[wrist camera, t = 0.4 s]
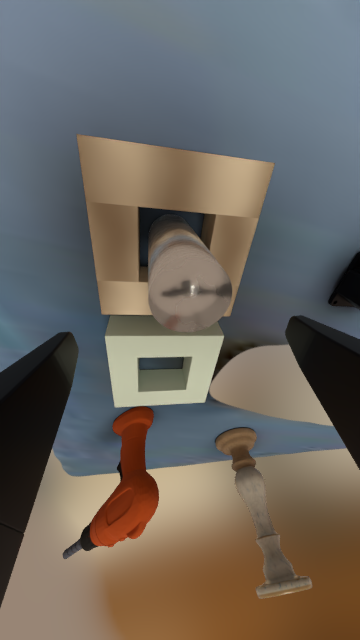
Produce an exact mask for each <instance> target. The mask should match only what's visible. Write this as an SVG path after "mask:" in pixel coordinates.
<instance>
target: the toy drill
mask: <svg viewBox="0 0 360 640" xmlns="http://www.w3.org/2000/svg"><path fill="white" fill-rule="evenodd" d="M153 418H154V414H153V411H152V410H151V409H150V408H148V407H143V406H140V407H135V408H132V409H130V410H128V411H126V412H124V413H123V414H121V415H120V416H119V417H118V418H116V420H115V421H114V423H113V431H114V432H115V433H116V434H118V435H119V436H122V447H121V460H120V462H119V464H118V467H117V470H118V471H119V473H120V477H121V482H120V484H119V485H118V486H117V488H116V489H115V491H114V492H113V493H112V494H111V496H110V497H109V498H108V500H107V501H106V502H105V503H104V504H103V506H102V507H101V508H100V509H99V511H98V512H97V514H96V515H95V516H94V518H93V520H92V522H91V523H90V524H89V525H88V526H87V527H85V529H84V530H83V532H82V534H81V538H80V539H79V540H78V541H77V542H76V543H74V544H73V545H72V546H70V547H69V548H68V549H66V550H65V551H64V553H63V558H64V559H67V558H68V557H70V556H71V555H72V554H74V553H75V552H77V551H79V550H80V549H82V548H83V549H84V550H85V551H89V550H91V549H93V548H95V547H98V546H108V547H113V546H114V544H115V543H117V542H118V541H123V540H125V538H127V537H129V538H131V539H136V538H137V537H139V536H140V535H141V534H142V532H143V530H144V529H145V527H146V524H147V523H148V522H149V521H150V519H151V518H152V516H153V515H154V513H155V511H156V508H157V506H158V501H159V491H158V487H157V484H156V481H155V480H154V478H153V477H152V476H150V474H148V473H147V472H146V465H145V440H146V434H147V430H148V429H149V428H150V426H151V425H152V422H153Z"/></svg>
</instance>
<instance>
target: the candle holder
mask: <svg viewBox="0 0 360 640" xmlns="http://www.w3.org/2000/svg"><path fill="white" fill-rule="evenodd" d="M256 438H257V437H256V434H255V432H254V431H253V430H252V429H249V428H237V429H232V430H229V431H227V432H224V433H223V434H221V435H220V436H219V437H218V438H217V439H216V442H215V443H216V447H217V449H218V450H220V451H223V453H224V454H226V455H232V457H233V464H232V469H233V470H234V471H236V472H237V473H236V476H235V487H236V489H237V491H238V493H239V495H240V496H241V498H242V499H243V501H244V502H245V504H246V505H247V507H248V509H249V511H250V513H251V516H252V519H253V522H254V525H255V528H256V532H257V539H256V542H257V543H258V545H259V546H260V547H261V549H262V551H263V554H264V567H263V572H264V575H265V578H266V582H265V583H264V584H263V585H261V586H258V587H256V591H257V595H258V597H259V598H268V597H274V596H279V595H284V594H289V593H293V592H298V591H302V590H306V589H310V588H312V583H311V580H310V578H309V577H308V576H302V577H301V576H297V575H295V573H294V571H293V568H292V564H291V563H290V562H289V561H288V560H287V559H286V558H285V556H284V555H283V553H282V551H281V549H280V535H279V534H277V533H276V532H275V530H274V528H273V525H272V522H271V519H270V516H269V513H268V510H267V505H266V488H265V481H264V478H263V476H262V474H261V473H260V472H259V471H258V470H257V469H255V468H254V467H255V464H256V461H255V460H254V459H253V458H252V457H251V456H250V454H249V452H248V451H249V450H250V449H252V448H253V446H254V442H255V441H256Z"/></svg>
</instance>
